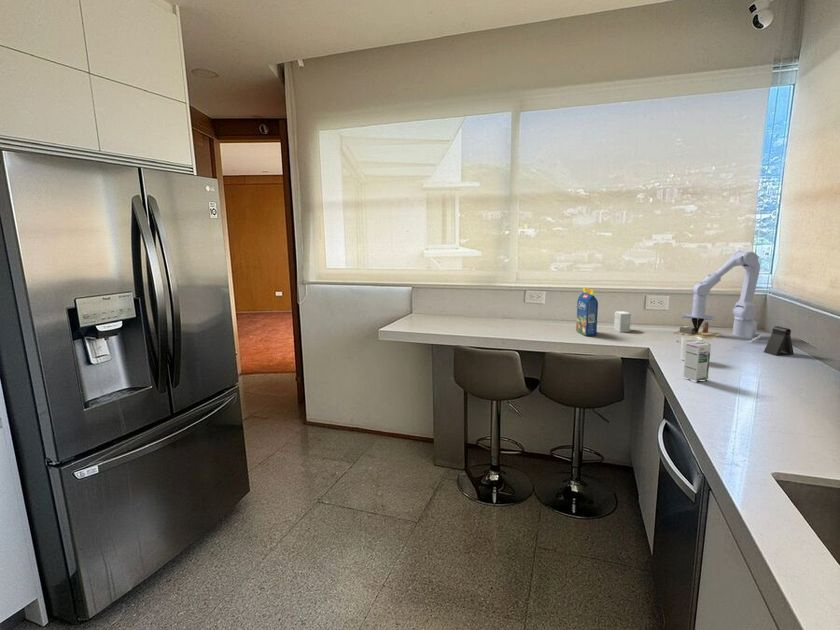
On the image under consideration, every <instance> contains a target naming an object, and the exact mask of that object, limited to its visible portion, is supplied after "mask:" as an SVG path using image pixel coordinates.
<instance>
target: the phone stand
mask: <svg viewBox="0 0 840 630" xmlns="http://www.w3.org/2000/svg"><path fill="white" fill-rule="evenodd" d="M791 333H792V330H791V329H790V328H789V327H788V328H787V327H783V326H778V325H776V326H775V325H774V326H773V327H772V332H771V335H770V337H769V339H768V341H767V343H766V346H765V348H764V350H763V353H765V354H769V355H772V356H774V357H779V356H793V355H794V354H795V353H794V348H793V343H792V339H791V338H792V337H791V335H792V334H791Z"/></svg>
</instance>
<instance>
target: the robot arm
mask: <svg viewBox="0 0 840 630" xmlns="http://www.w3.org/2000/svg"><path fill="white" fill-rule="evenodd" d="M759 258H760V257H759V256H758V254H757V253H756V252H753V251H745V250H737V251H735V252H734V253H733V254H732V255H730V257H729V259H728V260H727V261H725V262H724V264H722V266H720V267H719V268H718V269H717V270H716V271H715V272H710V273H707V274H706V277H704V279H702V280H700V281H699V282H698V283H696V284H695V285H694V286H692V287H693V288H691V292H692V294H693V296H692V297H693V298H692V299H693V300H692V309H691V313H681V318H682V319H690V320H691V322H692V325H693V327H694V329H695V333H698V331H700V328H701V325H702V324H704V321H713V322H714V321H716V320H715V319H716V316H713V315H707V314H706V307H707V296H708V295H709V294H710V293H711V290H712V289H713V288H714V287H715V286H716V285H717V284H719V283H720V281H721V279H722V277H723V276H724V275H726V274H727V273H729V271H731V270H733V268H734V267H740V266H741V267H743V269H744V270H745V274H744V278H743V283H742V287H741V292H740V296H739V300H738V301H736V302H735V304H734V307H733V308H732V310H731V314H732V315H733V319H734V320H733V326H732V335H733V336H738V337H744V338H745V337H747V338H752V339H755V338H756V335H757V327H758V323H757V321H756V320H753V319H754V318H755V317H756V315H757V313H756V310H755V309H756V305H755V304H754V302H753V301H754V296H755V293H756V288H757V285H758V284H757V282H758V279H759V275H760V270H761V265H760V261H759Z"/></svg>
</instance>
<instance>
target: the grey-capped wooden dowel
mask: <svg viewBox="0 0 840 630" xmlns="http://www.w3.org/2000/svg"><path fill="white" fill-rule="evenodd" d="M702 324H703V325H702V331H703V333H708V332H709V327H710V325H709V320H704V321H703V323H702Z"/></svg>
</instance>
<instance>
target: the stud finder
mask: <svg viewBox="0 0 840 630" xmlns="http://www.w3.org/2000/svg"><path fill="white" fill-rule="evenodd" d="M679 330H680V332H679V333H685V334H691V335H692V334H695V329H694V326H689V325H683V326H680V327H679Z"/></svg>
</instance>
